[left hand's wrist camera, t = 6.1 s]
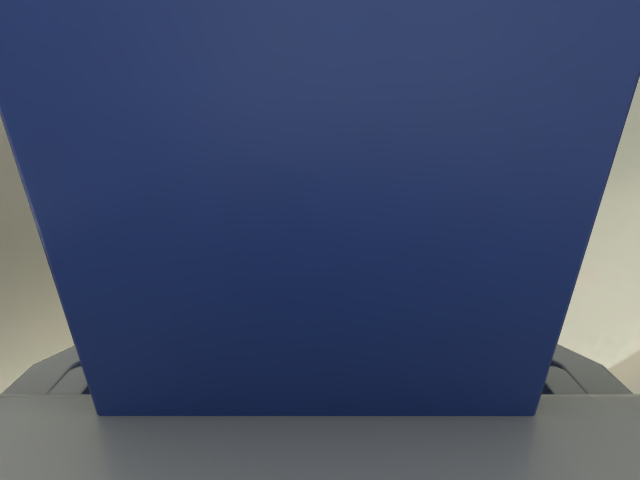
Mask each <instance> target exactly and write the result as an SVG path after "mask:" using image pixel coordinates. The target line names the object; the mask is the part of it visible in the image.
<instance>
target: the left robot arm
mask: <svg viewBox="0 0 640 480" xmlns="http://www.w3.org/2000/svg"><path fill="white" fill-rule="evenodd" d="M0 480H640V394H633V393H632V392H631V391H630V390H629V389H628V388H626V387H625V386H624V385H623V384H622V383H621V382H620V381H619V380H618V379H617V378H616V377H615V376H614V375H613V374H612V373H610V372H609V371H608V370H607V369H606V368H605V367H604V366H603V365H601V364H599V363H597V362H595V361H592V360H590V359H588V358H586V357H584V356H582V355H580V354H577V353H575V352H573V351H571V350H569V349H567V348H565V347H563V346H560V345H558V344H557V346H556V349H555V352H554V355H553V358H552V362H551V365H550V368H549V371H548V375H547V378H546V381H545V384H544V388H543V391H542V394H541V397H540V401H539V404H538V407H537V410H536V414H535V415H534V416H99V415H97V412H96V409H95V406H94V403H93V400H92V397H91V394H90V391H89V388H88V384H87V381H86V378H85V375H84V372H83V369H82V366H81V363H80V360H79V357H78V353H77V350H76V347H75V346H73V347H71V348H69V349H66V350H64V351H62V352H60V353H58V354H56V355H53V356H51V357H49V358H47V359H45V360H43V361H40V362H38V363H36V364H34V365H32V366H31V367H30V368H29V369H28V370H27V371H26V372H25V373H24V374H23V375H21V376H20V377H19V378H18V379H17V380H16V381H15V382H14V383H13V384H12V385H11V386H9V387H8V388H7V389H6V390H5V391H4V392H3V393H2V394H0Z"/></svg>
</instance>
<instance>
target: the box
mask: <svg viewBox="0 0 640 480" xmlns="http://www.w3.org/2000/svg"><path fill="white" fill-rule="evenodd" d="M639 76H640V0H0V115H1V118H2V121H3V124H4V127H5V130H6V133H7V136H8V139H9V143H10V146H11V149H12V152H13V155H14V158H15V161H16V164H17V167H18V170H19V174H20V177H21V180H22V183H23V186H24V189H25V192H26V195H27V198H28V201H29V205H30V208H31V211H32V214H33V217H34V220H35V223H36V226H37V229H38V233H39V236H40V239H41V242H42V245H43V248H44V251H45V254H46V257H47V260H48V264H49V267H50V270H51V273H52V276H53V279H54V282H55V285H56V288H57V291H58V295H59V298H60V301H61V304H62V307H63V310H64V313H65V316H66V319H67V322H68V326H69V329H70V332H71V335H72V338H73V341H74V344H75V347H76V350H77V353H78V357H79V360H80V363H81V366H82V369H83V372H84V375H85V378H86V381H87V384H88V388H89V391H90V394H91V397H92V400H93V403H94V406H95V409H96V412H97V415H99V416H534V415H535V414H536V410H537V407H538V404H539V401H540V397H541V394H542V391H543V388H544V384H545V381H546V378H547V375H548V371H549V368H550V365H551V362H552V358H553V355H554V352H555V349H556V346H557V342H558V339H559V336H560V333H561V329H562V326H563V323H564V320H565V316H566V313H567V310H568V307H569V303H570V300H571V297H572V294H573V290H574V287H575V284H576V281H577V277H578V274H579V271H580V268H581V264H582V261H583V258H584V255H585V251H586V248H587V245H588V242H589V238H590V235H591V232H592V229H593V225H594V222H595V219H596V216H597V212H598V209H599V206H600V203H601V199H602V196H603V193H604V190H605V186H606V183H607V180H608V177H609V174H610V170H611V167H612V164H613V161H614V157H615V154H616V151H617V148H618V144H619V141H620V138H621V135H622V131H623V128H624V125H625V122H626V118H627V115H628V112H629V109H630V105H631V102H632V99H633V96H634V92H635V89H636V86H637V83H638V79H639Z"/></svg>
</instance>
